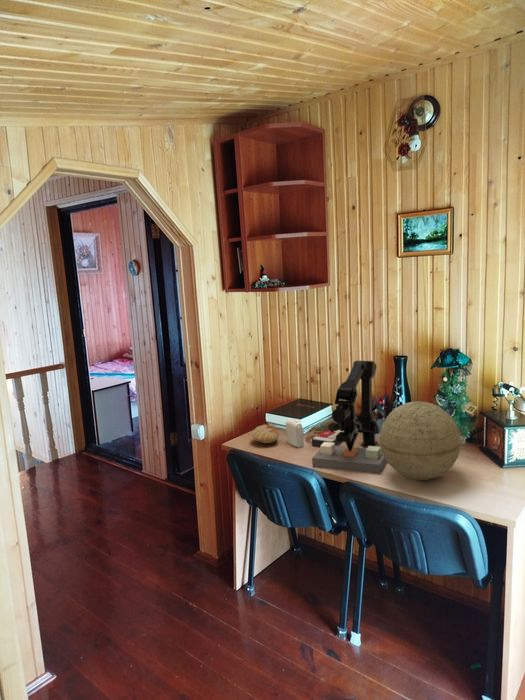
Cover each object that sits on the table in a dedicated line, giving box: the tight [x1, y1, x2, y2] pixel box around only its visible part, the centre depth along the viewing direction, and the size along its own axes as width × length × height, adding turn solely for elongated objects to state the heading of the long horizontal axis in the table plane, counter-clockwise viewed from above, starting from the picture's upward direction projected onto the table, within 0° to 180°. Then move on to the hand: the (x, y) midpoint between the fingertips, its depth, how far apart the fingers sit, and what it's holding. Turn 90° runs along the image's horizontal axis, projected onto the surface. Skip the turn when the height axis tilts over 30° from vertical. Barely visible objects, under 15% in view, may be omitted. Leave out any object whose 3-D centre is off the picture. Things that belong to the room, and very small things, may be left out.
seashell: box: [250, 422, 280, 444], centre depth 257 cm, size 8×22×15 cm
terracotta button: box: [343, 448, 358, 457], centre depth 221 cm, size 5×5×5 cm
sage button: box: [366, 445, 381, 460], centre depth 216 cm, size 5×5×5 cm
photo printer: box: [285, 418, 305, 448], centre depth 248 cm, size 10×4×12 cm, turn 29°
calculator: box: [311, 430, 343, 448], centre depth 247 cm, size 11×4×15 cm
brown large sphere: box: [379, 401, 462, 481], centre depth 200 cm, size 30×30×30 cm
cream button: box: [319, 442, 335, 455], centre depth 225 cm, size 5×5×5 cm
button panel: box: [311, 445, 388, 475], centre depth 221 cm, size 16×29×4 cm, turn 64°
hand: (350, 450), depth 220 cm, fingers closed, pressing on terracotta button
